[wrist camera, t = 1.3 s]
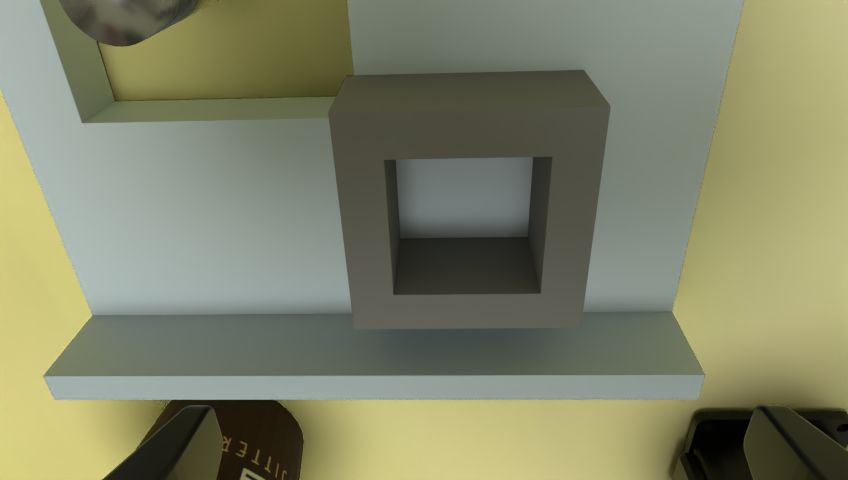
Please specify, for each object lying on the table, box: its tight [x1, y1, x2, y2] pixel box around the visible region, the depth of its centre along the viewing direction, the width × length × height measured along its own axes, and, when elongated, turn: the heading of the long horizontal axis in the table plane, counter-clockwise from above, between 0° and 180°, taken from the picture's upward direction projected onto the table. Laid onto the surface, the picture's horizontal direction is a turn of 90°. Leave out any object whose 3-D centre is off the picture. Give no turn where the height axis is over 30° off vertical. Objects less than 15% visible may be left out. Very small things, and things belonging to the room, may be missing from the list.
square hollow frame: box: [328, 70, 611, 329], centre depth 16 cm, size 6×6×3 cm
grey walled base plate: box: [0, 0, 744, 400], centre depth 16 cm, size 20×16×5 cm
